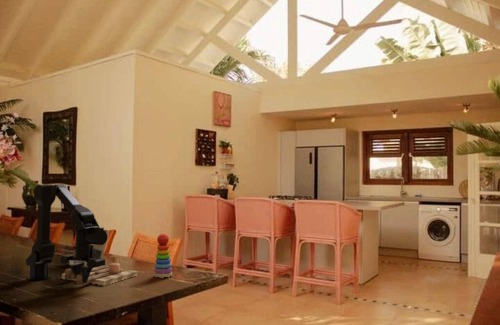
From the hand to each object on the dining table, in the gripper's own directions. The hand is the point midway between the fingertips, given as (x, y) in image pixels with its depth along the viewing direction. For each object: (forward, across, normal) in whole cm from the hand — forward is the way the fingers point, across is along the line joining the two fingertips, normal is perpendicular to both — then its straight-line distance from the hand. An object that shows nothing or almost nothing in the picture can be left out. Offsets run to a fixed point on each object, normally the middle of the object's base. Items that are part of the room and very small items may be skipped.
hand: (82, 282), depth 167 cm
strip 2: (+1, 0, -10) cm, 10 cm away
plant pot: (+2, +31, -36) cm, 47 cm away
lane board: (+2, +5, -15) cm, 16 cm away
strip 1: (+1, +11, -13) cm, 17 cm away
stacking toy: (+2, -17, -30) cm, 35 cm away
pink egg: (-1, 0, -18) cm, 18 cm away
